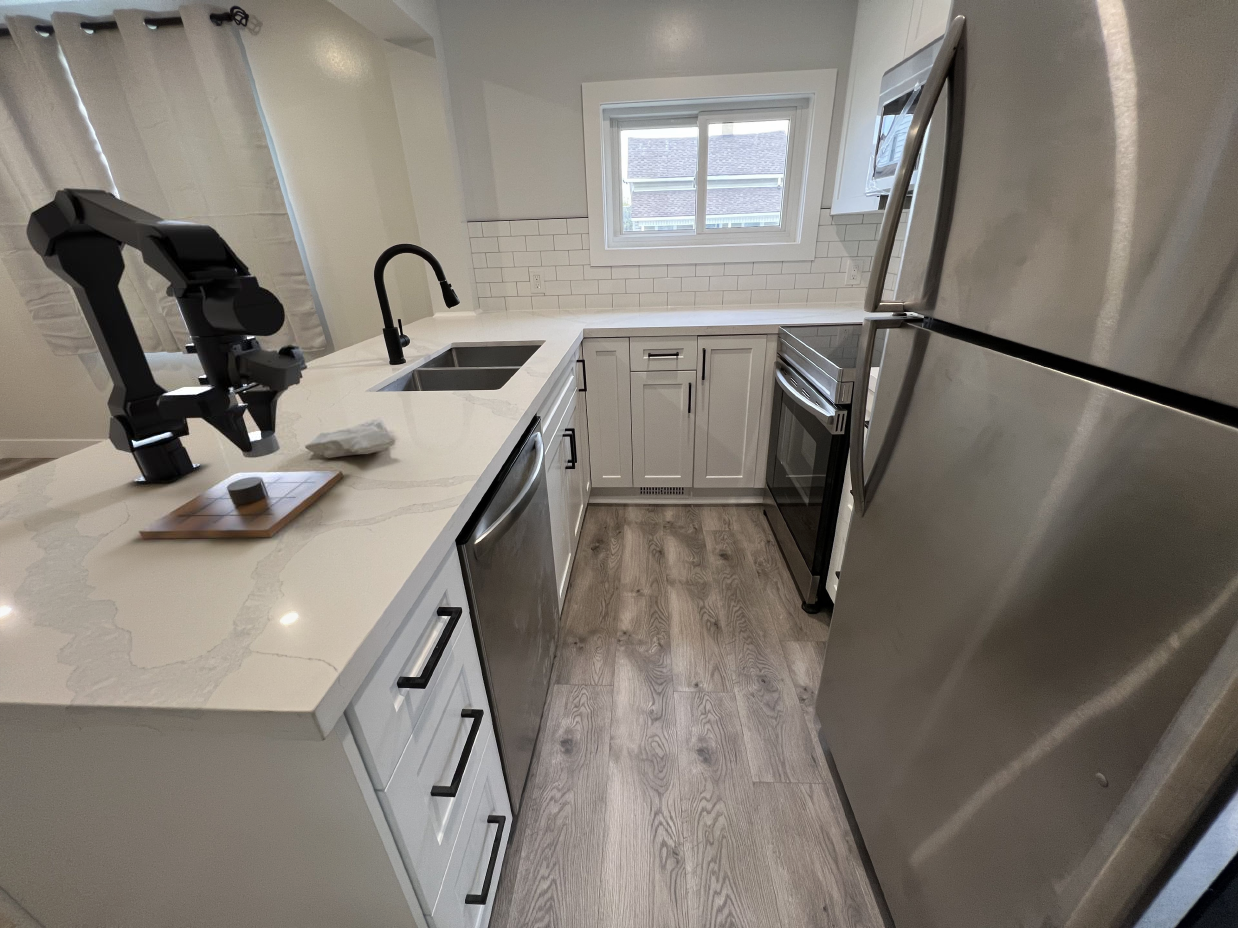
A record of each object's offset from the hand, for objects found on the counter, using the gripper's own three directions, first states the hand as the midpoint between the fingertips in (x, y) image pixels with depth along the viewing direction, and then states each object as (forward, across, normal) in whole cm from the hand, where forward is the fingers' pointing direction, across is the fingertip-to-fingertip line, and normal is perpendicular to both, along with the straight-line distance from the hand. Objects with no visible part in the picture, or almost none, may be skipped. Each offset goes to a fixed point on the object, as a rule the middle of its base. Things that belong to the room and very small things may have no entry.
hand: (259, 445), depth 70 cm
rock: (+10, +20, 0) cm, 22 cm away
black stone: (+8, 0, +4) cm, 10 cm away
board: (+10, 0, +4) cm, 11 cm away
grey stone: (+1, 0, 0) cm, 1 cm away
